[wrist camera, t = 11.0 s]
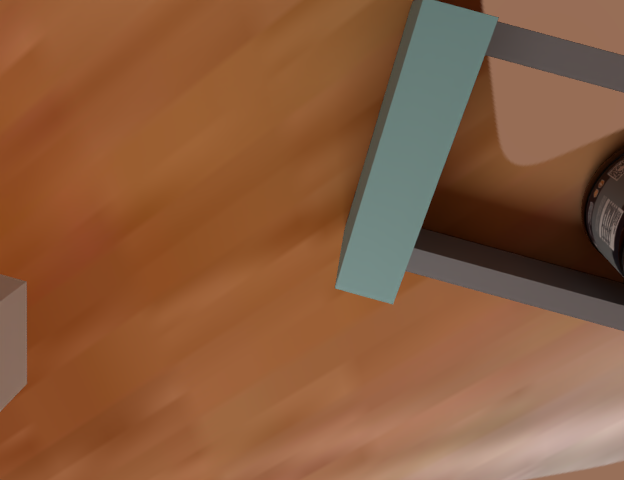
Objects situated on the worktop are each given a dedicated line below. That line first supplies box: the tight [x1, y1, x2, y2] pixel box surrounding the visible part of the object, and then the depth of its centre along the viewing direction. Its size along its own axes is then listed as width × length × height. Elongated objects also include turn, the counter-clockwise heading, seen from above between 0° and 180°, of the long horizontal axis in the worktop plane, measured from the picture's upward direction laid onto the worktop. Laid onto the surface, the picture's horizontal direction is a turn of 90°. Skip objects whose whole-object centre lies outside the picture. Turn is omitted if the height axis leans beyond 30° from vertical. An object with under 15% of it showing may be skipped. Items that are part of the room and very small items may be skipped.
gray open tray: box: [335, 0, 624, 331], centre depth 35 cm, size 18×29×10 cm, turn 76°
